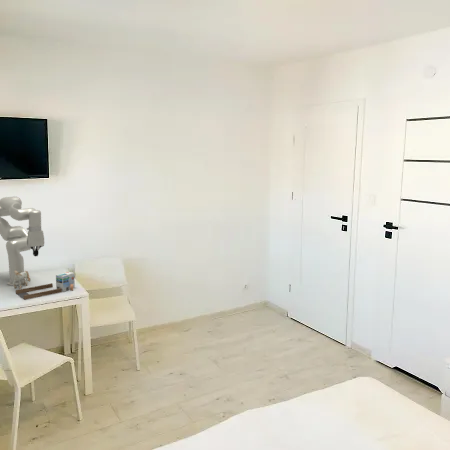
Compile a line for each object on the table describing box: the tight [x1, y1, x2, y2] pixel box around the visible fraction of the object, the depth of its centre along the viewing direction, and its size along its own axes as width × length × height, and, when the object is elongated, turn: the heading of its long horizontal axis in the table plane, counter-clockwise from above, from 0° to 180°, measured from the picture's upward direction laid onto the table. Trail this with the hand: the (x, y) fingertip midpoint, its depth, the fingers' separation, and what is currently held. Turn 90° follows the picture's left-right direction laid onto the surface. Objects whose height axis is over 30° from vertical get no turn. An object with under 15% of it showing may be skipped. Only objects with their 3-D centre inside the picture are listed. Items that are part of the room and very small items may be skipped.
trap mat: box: [16, 292, 30, 300], centre depth 295 cm, size 12×6×1 cm, turn 43°
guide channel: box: [15, 283, 63, 300], centre depth 301 cm, size 15×24×2 cm, turn 133°
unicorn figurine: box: [13, 270, 31, 290], centre depth 311 cm, size 7×20×13 cm, turn 4°
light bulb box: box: [55, 271, 76, 293], centre depth 309 cm, size 11×7×11 cm, turn 154°
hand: (35, 255), depth 304 cm, fingers closed
